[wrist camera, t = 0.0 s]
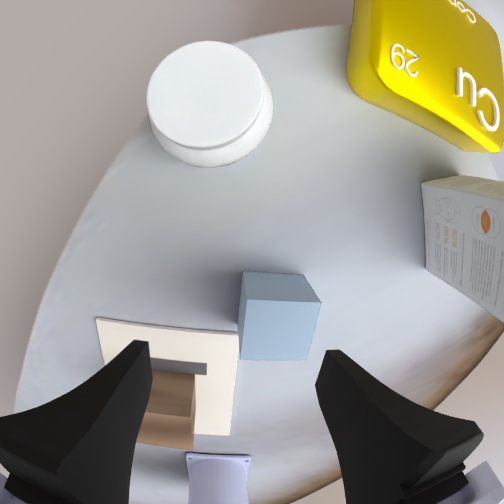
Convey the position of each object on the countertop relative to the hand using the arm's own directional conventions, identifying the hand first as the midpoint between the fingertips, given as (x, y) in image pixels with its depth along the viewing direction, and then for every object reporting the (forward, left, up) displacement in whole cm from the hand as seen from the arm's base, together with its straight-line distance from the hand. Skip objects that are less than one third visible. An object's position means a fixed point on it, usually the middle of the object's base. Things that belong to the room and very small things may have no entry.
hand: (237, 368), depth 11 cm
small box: (+6, -18, -10) cm, 22 cm away
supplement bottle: (+10, +2, -10) cm, 14 cm away
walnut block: (-12, +5, -10) cm, 16 cm away
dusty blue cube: (-2, -3, -10) cm, 11 cm away
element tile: (+21, -15, -11) cm, 28 cm away
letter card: (-12, +5, -10) cm, 16 cm away
